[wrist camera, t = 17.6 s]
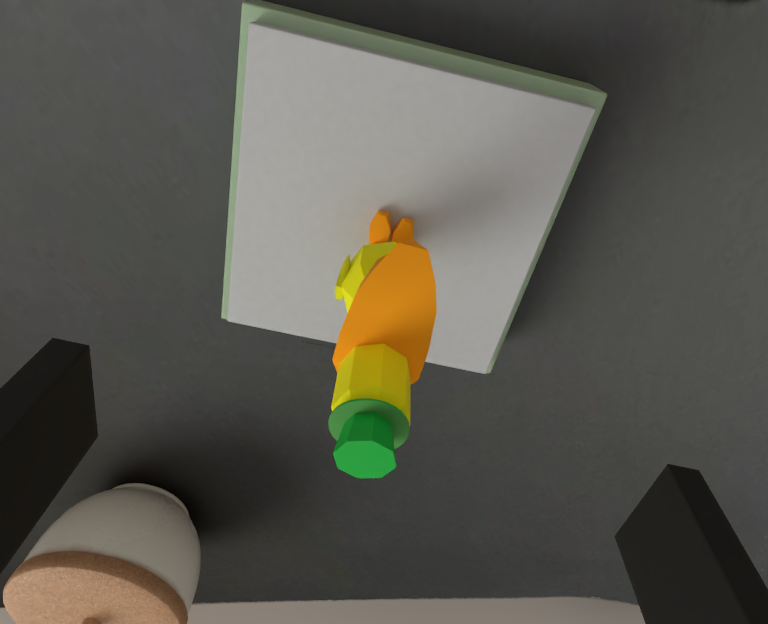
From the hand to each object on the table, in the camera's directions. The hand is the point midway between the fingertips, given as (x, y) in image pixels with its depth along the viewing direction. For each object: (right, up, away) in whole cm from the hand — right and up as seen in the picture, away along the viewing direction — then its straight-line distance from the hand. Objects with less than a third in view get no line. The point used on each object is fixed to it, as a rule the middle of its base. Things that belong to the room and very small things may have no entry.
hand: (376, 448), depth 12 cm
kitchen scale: (+1, +8, +13) cm, 16 cm away
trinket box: (-17, -11, +26) cm, 33 cm away
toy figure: (+1, +7, +11) cm, 13 cm away
